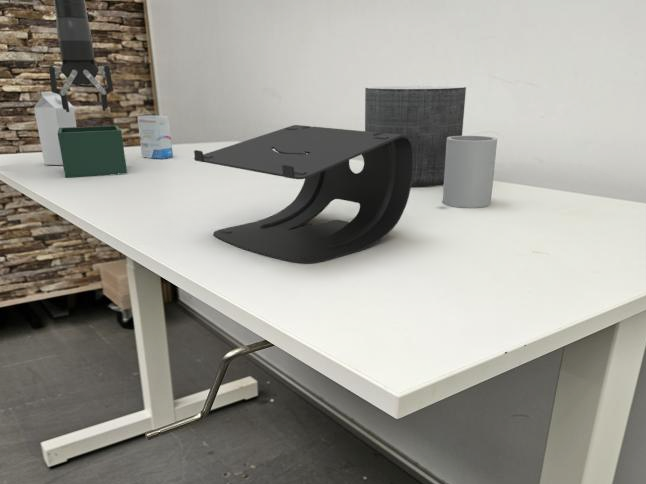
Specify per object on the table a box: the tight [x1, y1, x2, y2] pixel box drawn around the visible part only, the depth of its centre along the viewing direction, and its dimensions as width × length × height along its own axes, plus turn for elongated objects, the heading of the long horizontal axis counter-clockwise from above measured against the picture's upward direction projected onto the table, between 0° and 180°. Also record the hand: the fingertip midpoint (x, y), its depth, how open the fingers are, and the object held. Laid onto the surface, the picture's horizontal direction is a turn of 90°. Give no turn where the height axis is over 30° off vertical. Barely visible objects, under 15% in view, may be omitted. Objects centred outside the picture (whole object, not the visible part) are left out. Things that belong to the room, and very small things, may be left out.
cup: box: [442, 135, 498, 209], centre depth 115 cm, size 9×9×12 cm
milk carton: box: [33, 91, 78, 166], centre depth 166 cm, size 7×7×19 cm
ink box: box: [136, 115, 174, 160], centre depth 178 cm, size 9×5×12 cm, turn 59°
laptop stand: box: [193, 124, 413, 264], centre depth 93 cm, size 26×24×16 cm
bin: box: [58, 125, 128, 179], centre depth 155 cm, size 15×15×10 cm
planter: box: [364, 84, 467, 187], centre depth 138 cm, size 22×22×20 cm
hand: (86, 111), depth 151 cm, fingers open, 8 cm apart
